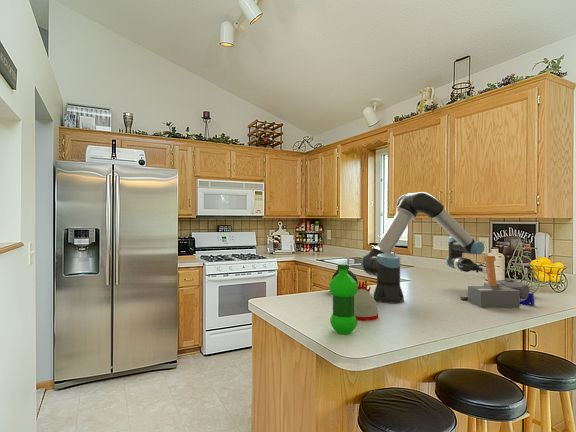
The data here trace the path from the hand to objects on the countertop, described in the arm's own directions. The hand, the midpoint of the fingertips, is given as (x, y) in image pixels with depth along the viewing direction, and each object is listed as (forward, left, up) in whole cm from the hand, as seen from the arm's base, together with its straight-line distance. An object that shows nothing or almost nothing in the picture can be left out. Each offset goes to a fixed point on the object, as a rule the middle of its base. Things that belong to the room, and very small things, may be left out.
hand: (487, 270), depth 172 cm
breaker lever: (-1, -5, -8) cm, 9 cm away
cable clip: (+14, -2, -16) cm, 22 cm away
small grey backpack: (+21, +18, -16) cm, 32 cm away
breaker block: (-1, -5, -16) cm, 17 cm away
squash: (-69, +25, -16) cm, 75 cm away
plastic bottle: (-80, -46, -16) cm, 93 cm away
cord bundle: (-1, +5, -16) cm, 17 cm away
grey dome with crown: (-69, -25, -16) cm, 75 cm away
